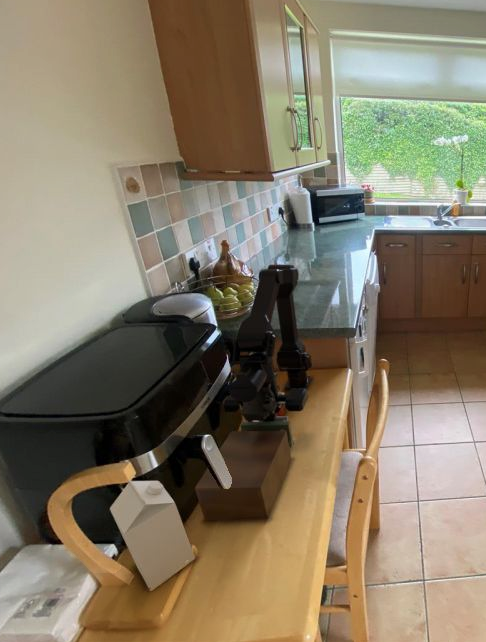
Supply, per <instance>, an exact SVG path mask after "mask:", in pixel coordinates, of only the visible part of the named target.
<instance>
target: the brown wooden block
mask: <svg viewBox="0 0 486 642" xmlns="http://www.w3.org/2000/svg"><path fill="white" fill-rule="evenodd" d="M219 450H220V452H221V454H222V456H223V458H224V461H225V464H226V466H227V468H228V471H229V473H230V475H231V477H232V484H231V487H230V488H229V489H221V488H220V487H219V486H218V484H217V482H216V480H215V479H214V477H213V476H212V474H211V473H210V471H209V469H208V467H207V468H206V470H205V471H204V473H203V474H202V476H201V478H200V479H199V481H198V482H197V484H196V486H195V487H194V490H195V494H196V498H197V500H198V503H199V506H200V510H201V512H202V515H203V518H204V521H237V520H239V521H241V520H242V521H243V520H268V519H269V518H270V516H271V512H272V510H273V507H274V504H275V503H276V500H277V497H278V495H279V493H280V490H281V487H282V485H283V482H284V479H285V478H286V474H287V473H288V470H289V467H290V464H291V462H292V456H291V449H290V448H289V443H288V438H287V432H286V431H241V430H236V431H234V430H233V431H232V430H231V431H230V432H229V434H228V436H227V437H226V439H225V440H224V442H223V444H222V445H221V446H220V448H219Z"/></svg>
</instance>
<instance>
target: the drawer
mask: <svg viewBox="0 0 486 642" xmlns="http://www.w3.org/2000/svg"><path fill="white" fill-rule="evenodd" d="M240 431H286V432H287V438H288V443H289V449H290V448H293V447H294V445H295V444H294V437H293V431H292V426H291V421H290V420H289V415H288V416H287V415H285V416H284V415H282V416H277V417H276V420H275V422H265V421H264V420H263V421H242V422H241V424H240Z"/></svg>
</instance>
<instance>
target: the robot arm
mask: <svg viewBox="0 0 486 642" xmlns="http://www.w3.org/2000/svg"><path fill="white" fill-rule="evenodd" d="M299 275H300V273H299V269H298V268H297V267H295V266H294V264H269V265H268V266H267V268H261V269H260V270H259V272H258V285H257V287H256V291H255V294H254V297H253V302H252V305H251V309H250V312H249V315H248V316H247V317H246V318H244V319H243V320H242V321H241V322H240V325H239V327H238V329H237V331H236V332H235V335H234V338H233V347H232V348H233V349H232V358H231V359H232V360H231V364H232V365H237V366H238V365H239V371H237V372H236V374H235V377H234V378H233V380H232V382H231V384H230V385H229V387H228V394H229V393H230V395H229V396H228V395H226V397H225V398H224V399H223V401H222V408H223V412H224V413H236V412H238V411H239V410H240V413H241V415H242V417H243V418H244V420H245V422H259V421H263V420H264V421H265V422H275V420H276V417H277V413H279V412H280V411H281V409H282V407H283V408H285V410H286V411H288V412H301V411H303V410H304V409H305V406H306V403H307V402H308V399H309V397H310V396H309V391H308V389H307V388H308V386H309V383H310V381H311V379H312V376H311V375H308V373H307V371H308V372H309V370H310V369H311V368H313V363H312V356H311V355H310V354H309V353H308V352H307V351H306V346H305V344H304V343H303V341H301V339H299V333H298V325H297V317H296V307H295V300H294V292H295V291H296V290H295V289H296V288H297V286H298V281H299ZM275 306H276V309H277V310H276V311H277V317H278V324H279V330H280V331H279V332H280V340H281V344H280V346H279V348H278V350H277V352H276V365H277V367H278V370H279V372H286V376H287V383H286V385H285V387H284V389H285V390H289V392H288V393H287V394H285V392H284V391H282V392H281V391H280V390H281V387H280V385H278V382H277V377H278V371H276V370H275V365H274V360H273V358H274V355H275V348H276V341H277V337H276V336H275V330H274V328H273V326H272V319H273V314H274V311H275ZM242 353H249V354H242ZM240 402H244V403H242V407H240V404H241V403H240ZM240 408H241V409H240Z"/></svg>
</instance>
